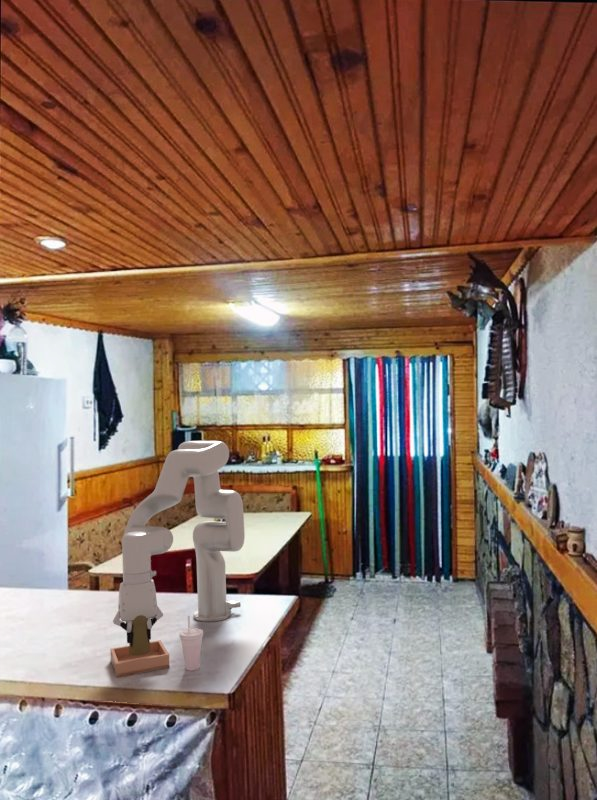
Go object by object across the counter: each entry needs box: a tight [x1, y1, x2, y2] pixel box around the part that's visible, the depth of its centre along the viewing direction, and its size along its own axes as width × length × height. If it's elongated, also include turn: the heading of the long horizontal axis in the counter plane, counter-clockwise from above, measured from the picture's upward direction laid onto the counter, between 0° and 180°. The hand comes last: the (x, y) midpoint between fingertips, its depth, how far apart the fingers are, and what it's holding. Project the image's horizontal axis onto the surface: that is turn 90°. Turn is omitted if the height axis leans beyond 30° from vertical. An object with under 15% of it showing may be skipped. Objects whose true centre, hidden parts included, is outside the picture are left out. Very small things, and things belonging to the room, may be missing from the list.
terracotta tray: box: [110, 639, 170, 678], centre depth 179 cm, size 14×12×4 cm
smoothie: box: [179, 615, 204, 671], centre depth 176 cm, size 6×6×14 cm
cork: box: [128, 615, 151, 656], centre depth 179 cm, size 6×6×11 cm
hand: (139, 643), depth 179 cm, fingers closed on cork, 3 cm apart
